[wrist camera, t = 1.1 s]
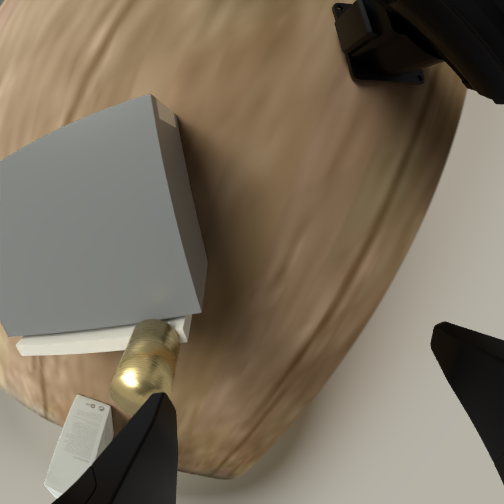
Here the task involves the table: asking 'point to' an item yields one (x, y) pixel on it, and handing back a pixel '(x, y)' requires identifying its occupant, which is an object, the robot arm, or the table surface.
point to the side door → (124, 354)
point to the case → (100, 225)
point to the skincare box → (79, 443)
